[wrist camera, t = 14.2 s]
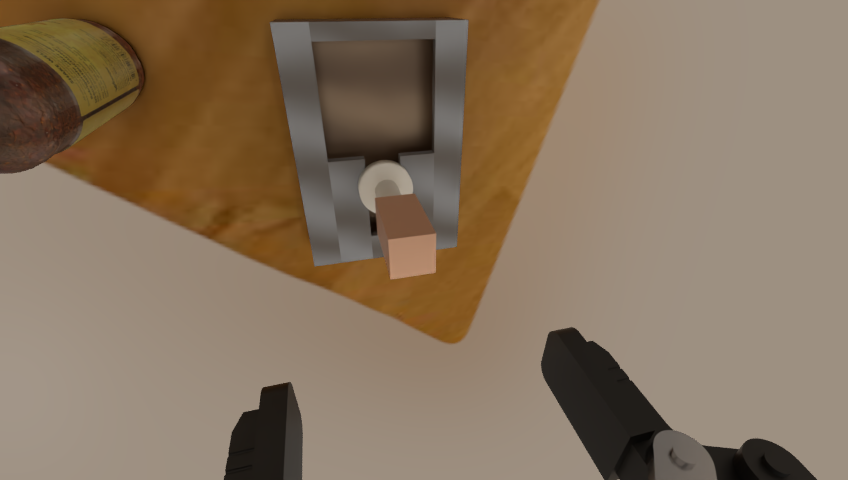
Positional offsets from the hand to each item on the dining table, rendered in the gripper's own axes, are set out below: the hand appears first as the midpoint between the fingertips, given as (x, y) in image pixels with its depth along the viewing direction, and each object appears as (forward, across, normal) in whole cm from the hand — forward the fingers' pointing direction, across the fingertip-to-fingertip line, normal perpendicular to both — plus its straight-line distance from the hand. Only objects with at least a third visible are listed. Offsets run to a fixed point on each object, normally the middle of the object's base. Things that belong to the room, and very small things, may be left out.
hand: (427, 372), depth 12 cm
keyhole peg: (+23, -2, +5) cm, 24 cm away
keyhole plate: (+28, -2, +2) cm, 28 cm away
